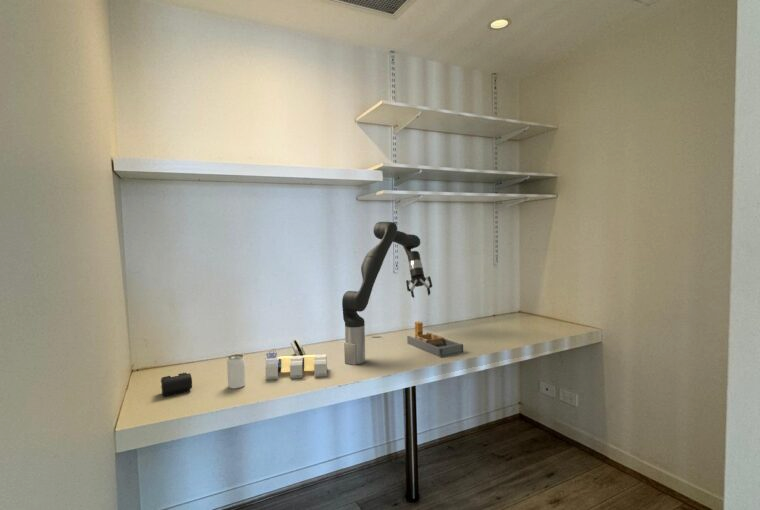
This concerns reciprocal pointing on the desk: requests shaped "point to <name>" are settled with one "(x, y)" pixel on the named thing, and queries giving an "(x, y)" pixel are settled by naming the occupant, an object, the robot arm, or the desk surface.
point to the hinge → (298, 348)
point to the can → (236, 371)
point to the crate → (427, 335)
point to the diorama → (295, 365)
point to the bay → (437, 347)
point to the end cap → (176, 384)
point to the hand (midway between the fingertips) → (421, 296)
